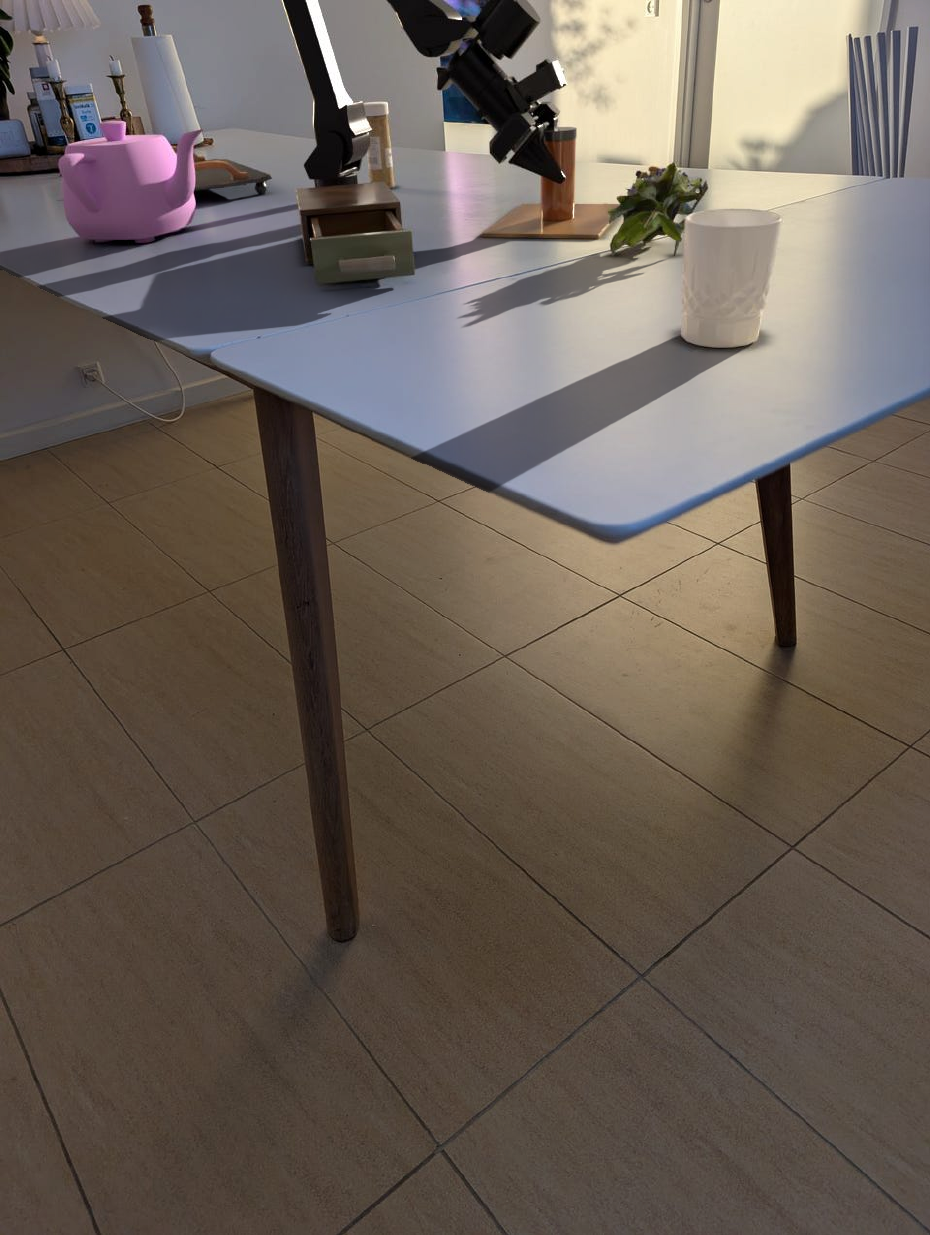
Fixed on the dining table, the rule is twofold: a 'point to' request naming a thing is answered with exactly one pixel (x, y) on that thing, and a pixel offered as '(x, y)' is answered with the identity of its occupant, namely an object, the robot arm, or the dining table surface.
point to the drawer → (360, 246)
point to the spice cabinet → (342, 204)
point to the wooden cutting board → (553, 223)
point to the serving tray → (225, 174)
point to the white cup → (727, 274)
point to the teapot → (128, 185)
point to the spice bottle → (562, 196)
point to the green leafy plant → (655, 206)
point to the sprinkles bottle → (379, 144)
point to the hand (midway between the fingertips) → (567, 178)
